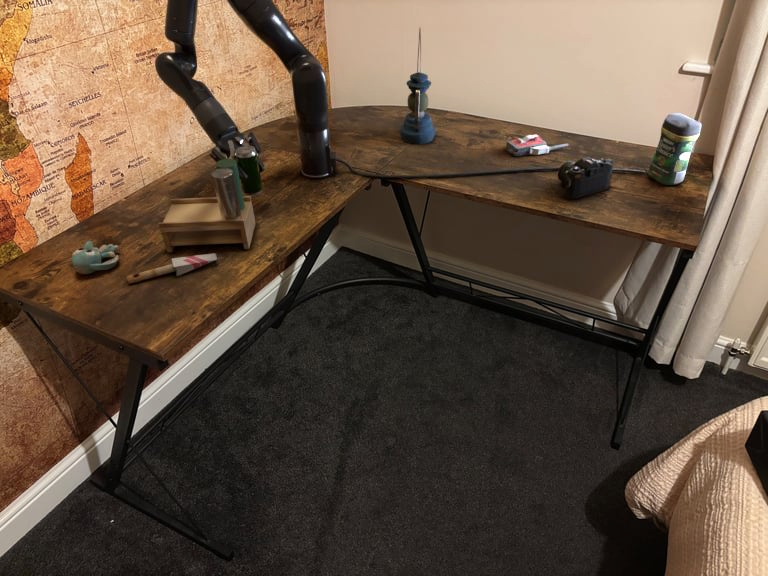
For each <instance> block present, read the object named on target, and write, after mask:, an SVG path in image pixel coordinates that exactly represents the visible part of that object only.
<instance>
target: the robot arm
mask: <svg viewBox="0 0 768 576" xmlns="http://www.w3.org/2000/svg"><path fill="white" fill-rule="evenodd" d="M226 2H227V4H228V5H229V6H230V8H231V9H232V11H233V12H234V13H235V14H236V15H237V17H238V18H239V19H240V20H241V22H242V23H243V24H244V26H246V28H247V29H248V30H249V31H250V32H251V33H252V34H253V35H254V36H255V37H256V38H257V39H258V40H260V41H261V42H262V43H263V44H264V45H265V46H267V47H268V48H269V49H270V50H271V51H272V52H273V53H274V54H275V55H276V57H277V58H278V59H279V60H280V62H281V63H282V65H283V66H284V68H285V70H286V71H287V72H288V75H289V76H290V79H291V86H292V94H293V102H294V113H295V122H296V123H295V124H296V132H297V140H298V148H299V160H300V164H301V165H300V167H301V174H302V176H304V177H306V178H309V179H323V178H326V177H330V176H333V171H334V169H333V168H337V162H338V163H340V164H343V165H344V166H346V167H347V168H348V170H349V171H350V172H352V173H354V174H355V175H358V176H362V177H367V178H375V179H429V178H431V179H432V178H433V179H434V178H448V177H449V178H452V177H465V176H477V175H478V176H479V175H490V174H492V175H493V174H503V173H504V174H505V173H515V172H517V173H518V172H533V171H559V169H560V167H561V166H545V167H543V166H541V167H540V166H539V167H523V168H509V169H508V168H507V169H495V170H482V171H470V172H469V171H468V172H456V173H439V174H438V173H437V174H415V175H414V174H405V175H403V174H397V175H396V174H391V175H390V174H389V175H388V174H383V175H382V174H374V173H365V172H364V173H363V172H360V171H358V170H356V169H354V168H353V167H352V165H350V163H348V162H347V161H345V160H343V159H341V158H338V157H337V151H332V141H331V135H330V124H329V122H330V121H329V109H328V108H329V100H328V99H329V98H328V87H327V77H326V73H325V70H324V68H323V65H322V64H321V61H319V59H318V58H317V57H316V56H315V55H314V54H313V53H312V52H311V51H310V50H309V49H308V48H307V47H306V46H305V45H304V44H303V42H302V41H301V40H300V39H299V38H298V37H297V36H296V34H295V33H294V31H293V30H292V28H291V26H290V25H289V23H288V21H287V20H286V18H285V17H284V16H283V13H282V12H281V11H280V9H279V8H278V6H277V5H276V4H275V2H274V1H273V0H226ZM198 7H199V0H167V3H166V12H165V23H164V36H165V38H166V39H167V40H168V41H170V42H171V43H173V45H174V51H165V52H161V53H159V54H158V55H157V56H156V57H155V59H154V68H155V71H156V74H157V76H158V77H159V79H160V80H161V82H163V83H164V85H165V86H167V87H168V88H169V89H170V90H171V91H172V92H173V93H174V94H175V95H177V97H179V98H180V99H182V101H183V102H184V103H185V105H186V106H187V107H188V109H189V110H190V111H191V113H192V114H193V116H194V117H195V120H196V121H197V123H198V124H199V126H200V127H201V128H202V130H203V131H204V132H205V134H206V135H207V136H208V138H209V140H210V141H211V142H212V143H213V144H214V145H215V147H213V148H211V150H210V152H209V153H208V155H209V157H210V158H211V159H212V160H213V161H214V162H215V163H217V162H218V161H220V160H223V159H234V160H236V155H235V154H236V152H235V150H236V149H237V148H238V147H241V146H253V147H254V148H255V151H256V153H257V158H258V164H259V170H260V174H261V173H263V172H264V171H265V169H266V168H265V164H264V162H263V161H262V160H261V158H260V157H259V155H260V154H261V152H262V151H263V150H262V148H261V146H260V144H259V141H258V140H257V138H256V136H255V134H254V133H253V131H249V132H248V133H247V134H243V133H242V132H241V131H239V128H238V126H237V124H236V123H235V122H234V120H233V119H232V117H231V116H230V114H228V112H227V110H226V109H225V108H224V106H223V105H222V104H221V103H220V102H219V101H218V99H217V97H215V95H214V94H213V93H212V92H211V90H210V88H209V87H208V86H207V85H206V83H204V82H203V81H200V80H197V79H195V76H196V73H197V70H198V56H197V47H196V42H195V35H196V28H197V19H198ZM223 154H224V155H225V156H224V155H223ZM236 162H237V160H236ZM237 167H238V172H239V177H240V180H242V181H245V180H246V179H247V178H248V177H247V175H246V173H245V172H244V171H243V169H242V168H241V167H240V165H239V166H238V163H237ZM612 172H617V173H631V174H642V175H644V174H646V173H645V172H646V171H645V170H640V169H629V168H628V169H627V168H614V167H613V171H612Z"/></svg>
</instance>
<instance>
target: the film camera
mask: <svg viewBox="0 0 768 576" xmlns="http://www.w3.org/2000/svg"><path fill="white" fill-rule="evenodd" d="M614 165H615V162H614V161H612V159H610V158H605V159H604V158H599V159H594V158H591V157H589V156H587V157H583V158H580V159H579V160H577V161H572V160H566V161H565V162H563V163H562V164H561V166H559V167H560V169H559V170H557V179H558V180H559V181H560V182H561V183H562V184H563V185H564V188H563V194H562V195H563V198H566V199H567V200H573V199H578V198H582V197H585V196H589V195H592V194H595V193H598V192H602V191H605V190H607V189H609V188H610V184H611V179H612V176H613V172H614V171H613V168H614Z"/></svg>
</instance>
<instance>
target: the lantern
mask: <svg viewBox="0 0 768 576" xmlns="http://www.w3.org/2000/svg"><path fill="white" fill-rule="evenodd" d="M418 30H419V31H418V43H419V44H418V46H417V47H418V48H417V59H419V61H417V62H416V63H417V64H416V65H417V68H416V72H415V73H412V74H411V75H410V76H409V79H408V80H407V81H406V86H407V87H408V89H409V90H410V93H409V94H408V96H407V108H408V109H409V110H410V111H411V112H409V113H406V115H405V117H404V118H405V119H404V120H403V124H402V125H401V126H400V128H399V132H400V136H401V139H402V140H403V141H404V142H405V143H408V144H412V145H422V144H423V145H424V144H428V143H430V142H431V141H433V140H434V137H435V134H436V127H435V125H433V120H432V119H431V115H430V114H429V113H427V112H425V111H426V110H427V108H428V107H429V95H428V94H427V93H426V92H427V91H428V90H429V89H430V86H431V85H432V81H431V80H429V76H428V74H426V73H424V72H422V36H421V34H422V33H421V28H419V29H418Z"/></svg>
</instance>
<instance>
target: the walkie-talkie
mask: <svg viewBox="0 0 768 576" xmlns="http://www.w3.org/2000/svg"><path fill="white" fill-rule="evenodd" d="M563 147H569V143H561V144H557V145H552V146H551V145H550V146H548V145H547V142H546V141H545V140H543V138H541V136H540V135H538V134H535V133H533V134H528V135H525V136H524V137H523V138H521V137H519V138H517V139H513V140H507V141H506V144H505V151H507V152H508V153H510V154H511V155H512V156H514V157H521V156H526V155H536V156H539V155H544V154H549V152H551V151H553V150H557V149H561V148H563Z"/></svg>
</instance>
